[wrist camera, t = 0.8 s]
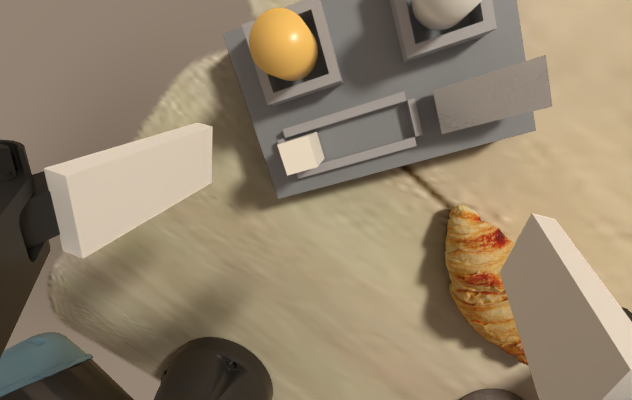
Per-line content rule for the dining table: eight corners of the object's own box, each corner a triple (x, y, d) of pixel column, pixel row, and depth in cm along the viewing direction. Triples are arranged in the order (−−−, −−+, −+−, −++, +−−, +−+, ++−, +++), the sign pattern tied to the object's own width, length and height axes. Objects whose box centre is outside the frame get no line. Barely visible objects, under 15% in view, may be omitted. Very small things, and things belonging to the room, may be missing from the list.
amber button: (275, 88, 28) (260, 84, 24) (258, 34, 27) (240, 21, 23) (324, 71, 27) (317, 64, 23) (308, 14, 26) (298, -3, 22)
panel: (287, 189, 37) (270, 206, 30) (239, 43, 33) (209, 27, 27) (515, 128, 32) (552, 132, 25) (486, -53, 28) (520, -99, 22)
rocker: (441, 131, 28) (441, 134, 27) (432, 89, 27) (432, 90, 26) (545, 105, 25) (552, 106, 24) (538, 57, 24) (545, 55, 23)
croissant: (421, 206, 39) (398, 243, 33) (511, 174, 32) (502, 213, 26) (505, 344, 41) (497, 401, 35) (605, 342, 34) (615, 412, 29)
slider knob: (299, 165, 31) (287, 175, 27) (290, 139, 31) (277, 144, 26) (324, 158, 31) (317, 167, 26) (316, 131, 30) (307, 135, 25)
